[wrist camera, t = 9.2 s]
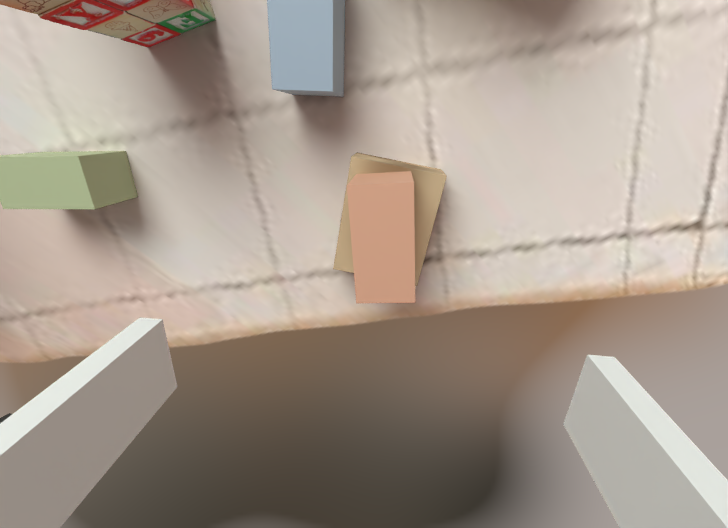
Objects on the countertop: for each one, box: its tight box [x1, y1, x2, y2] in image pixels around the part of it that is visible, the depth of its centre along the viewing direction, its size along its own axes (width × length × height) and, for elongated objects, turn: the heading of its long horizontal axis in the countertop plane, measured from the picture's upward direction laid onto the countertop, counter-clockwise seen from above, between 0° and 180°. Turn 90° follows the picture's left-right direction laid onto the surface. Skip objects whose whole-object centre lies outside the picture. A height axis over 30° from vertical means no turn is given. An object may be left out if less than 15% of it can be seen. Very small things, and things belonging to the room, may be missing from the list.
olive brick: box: [0, 151, 138, 209], centre depth 29 cm, size 8×4×5 cm, turn 91°
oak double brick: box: [333, 153, 447, 286], centre depth 28 cm, size 7×9×4 cm
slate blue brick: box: [267, 0, 345, 97], centre depth 23 cm, size 8×4×5 cm, turn 178°
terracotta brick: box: [347, 171, 415, 303], centre depth 24 cm, size 8×4×5 cm, turn 4°
